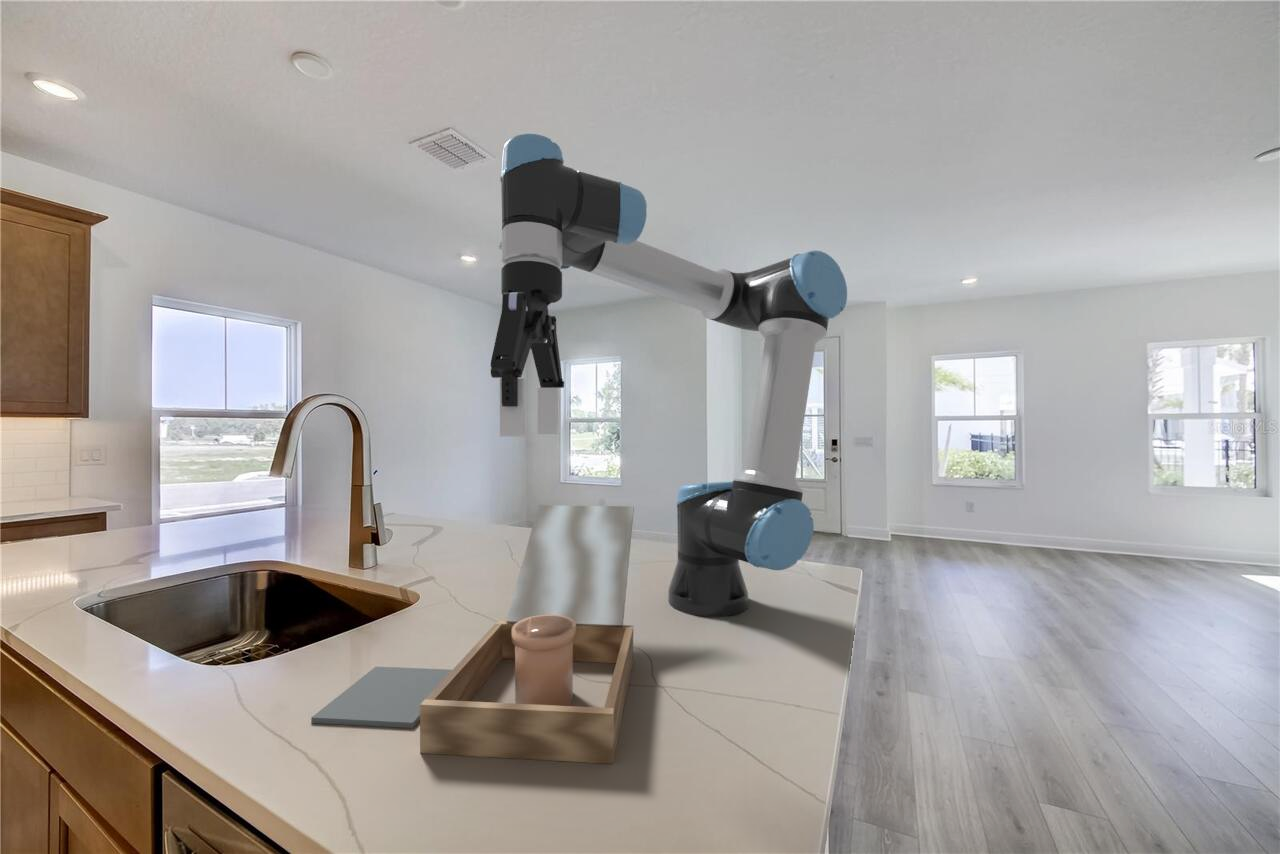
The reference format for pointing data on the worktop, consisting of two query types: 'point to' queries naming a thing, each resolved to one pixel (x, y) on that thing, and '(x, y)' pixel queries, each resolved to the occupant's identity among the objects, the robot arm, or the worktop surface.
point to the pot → (544, 660)
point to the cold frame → (595, 599)
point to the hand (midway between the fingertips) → (532, 435)
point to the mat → (383, 698)
